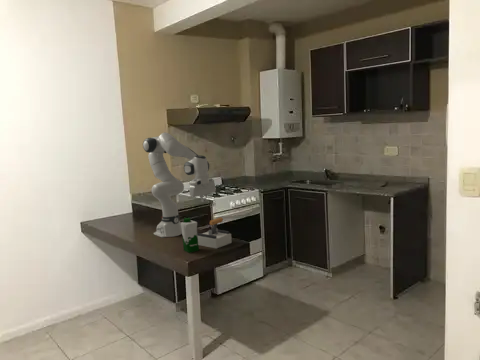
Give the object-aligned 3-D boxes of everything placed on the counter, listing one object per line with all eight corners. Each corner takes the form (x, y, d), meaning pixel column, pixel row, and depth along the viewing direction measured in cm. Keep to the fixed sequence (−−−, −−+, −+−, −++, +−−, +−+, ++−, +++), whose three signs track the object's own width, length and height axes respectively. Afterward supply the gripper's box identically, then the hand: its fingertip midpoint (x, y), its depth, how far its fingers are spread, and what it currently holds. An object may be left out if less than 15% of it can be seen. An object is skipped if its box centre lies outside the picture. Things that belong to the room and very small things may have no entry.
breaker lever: (206, 234, 255) (210, 220, 251) (217, 230, 263) (221, 217, 259) (208, 236, 254) (212, 222, 250) (219, 232, 262) (223, 218, 257)
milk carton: (194, 247, 254) (191, 216, 251) (201, 250, 247) (198, 218, 244) (181, 250, 249) (178, 219, 246) (188, 253, 242) (185, 221, 239)
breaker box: (196, 244, 260) (195, 230, 259) (212, 239, 270) (211, 225, 269) (216, 248, 248) (215, 233, 247) (231, 242, 258) (230, 228, 257)
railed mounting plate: (197, 235, 259) (197, 233, 259) (212, 230, 269) (212, 228, 268) (214, 238, 248) (214, 236, 248) (229, 233, 258) (229, 231, 258)
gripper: (210, 178, 269) (212, 198, 271) (187, 182, 254) (189, 204, 256) (217, 178, 265) (218, 199, 267) (193, 183, 250) (195, 204, 252)
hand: (203, 201), depth 261 cm, fingers closed
